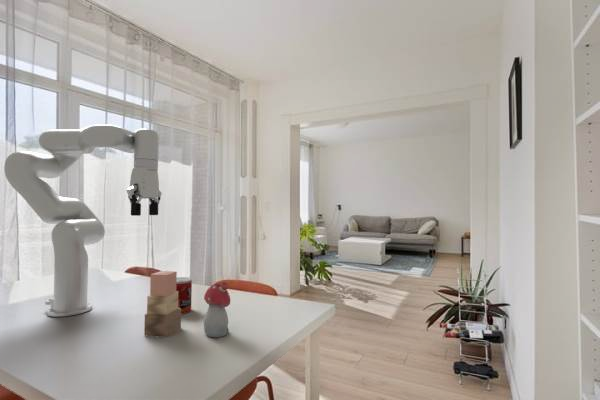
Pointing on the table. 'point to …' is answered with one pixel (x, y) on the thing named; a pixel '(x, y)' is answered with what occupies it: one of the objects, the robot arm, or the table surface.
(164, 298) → the oak block
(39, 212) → the robot arm
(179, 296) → the canned food
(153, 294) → the terracotta block
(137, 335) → the table surface
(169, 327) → the walnut base
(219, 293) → the decorative ornament
